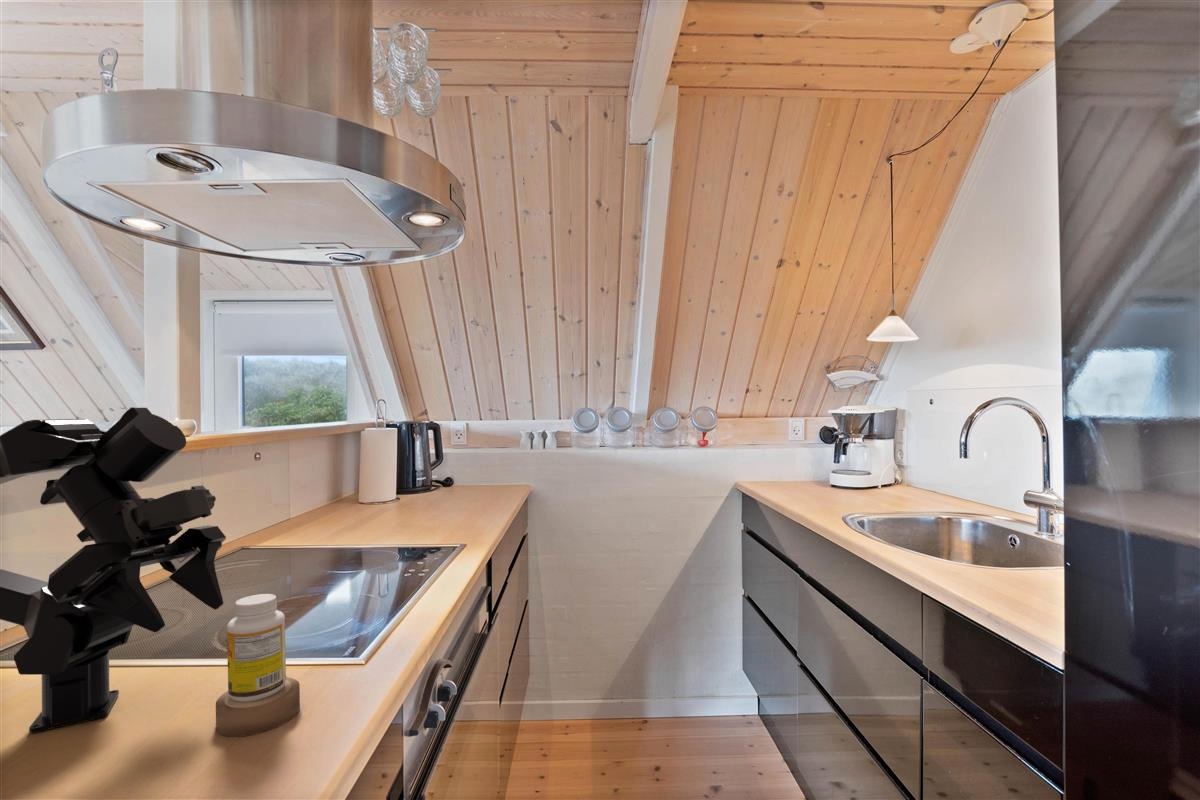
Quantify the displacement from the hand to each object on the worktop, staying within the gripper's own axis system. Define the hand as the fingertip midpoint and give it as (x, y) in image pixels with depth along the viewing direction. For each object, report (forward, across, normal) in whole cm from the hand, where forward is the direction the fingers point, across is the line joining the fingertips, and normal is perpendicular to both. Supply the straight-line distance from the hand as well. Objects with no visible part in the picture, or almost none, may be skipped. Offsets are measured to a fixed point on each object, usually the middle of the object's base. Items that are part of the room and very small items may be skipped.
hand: (192, 617), depth 65 cm
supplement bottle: (+11, +1, 0) cm, 11 cm away
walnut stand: (+13, +1, +1) cm, 13 cm away
